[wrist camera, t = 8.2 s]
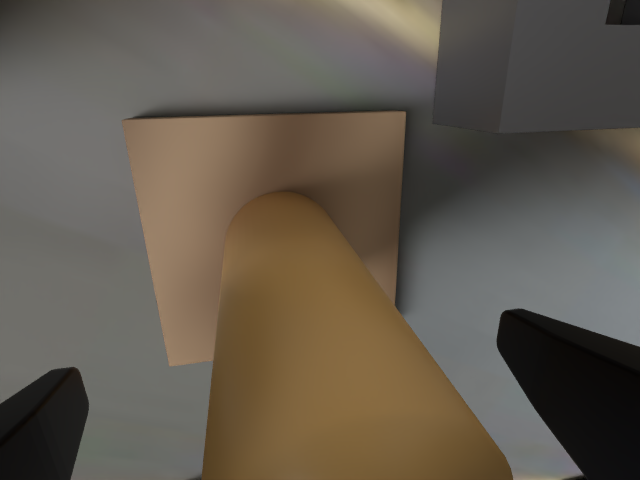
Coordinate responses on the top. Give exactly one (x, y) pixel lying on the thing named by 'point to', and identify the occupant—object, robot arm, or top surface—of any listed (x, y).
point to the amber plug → (325, 366)
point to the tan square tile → (249, 183)
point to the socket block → (537, 66)
